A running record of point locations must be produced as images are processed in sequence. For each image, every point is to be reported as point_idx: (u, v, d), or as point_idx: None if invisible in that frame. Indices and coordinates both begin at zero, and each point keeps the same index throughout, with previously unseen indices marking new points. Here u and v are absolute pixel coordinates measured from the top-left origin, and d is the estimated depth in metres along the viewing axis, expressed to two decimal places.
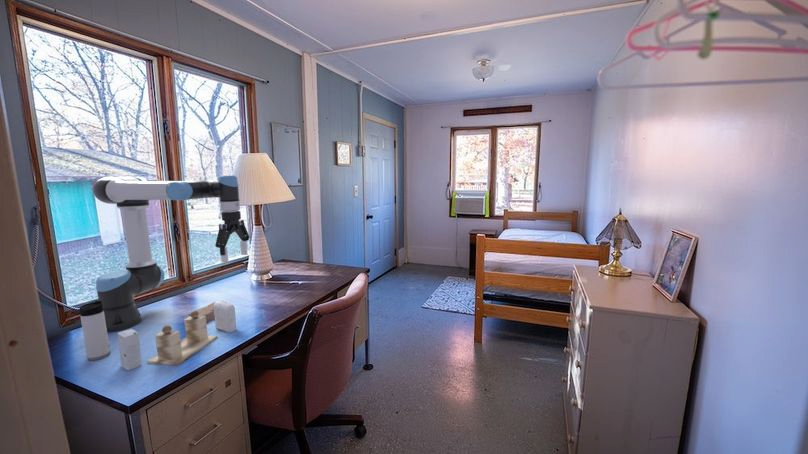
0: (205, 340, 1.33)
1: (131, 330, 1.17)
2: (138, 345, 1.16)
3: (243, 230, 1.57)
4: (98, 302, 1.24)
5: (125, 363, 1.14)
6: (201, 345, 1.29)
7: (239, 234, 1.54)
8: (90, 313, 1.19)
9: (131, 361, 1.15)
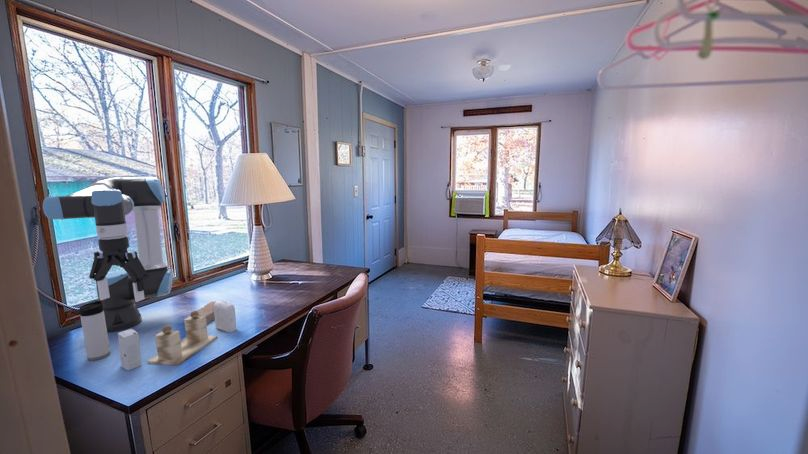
0: (205, 340, 1.33)
1: (131, 330, 1.17)
2: (138, 345, 1.16)
3: None
4: (98, 302, 1.24)
5: (125, 363, 1.14)
6: (201, 345, 1.29)
7: None
8: (90, 313, 1.19)
9: (131, 361, 1.15)
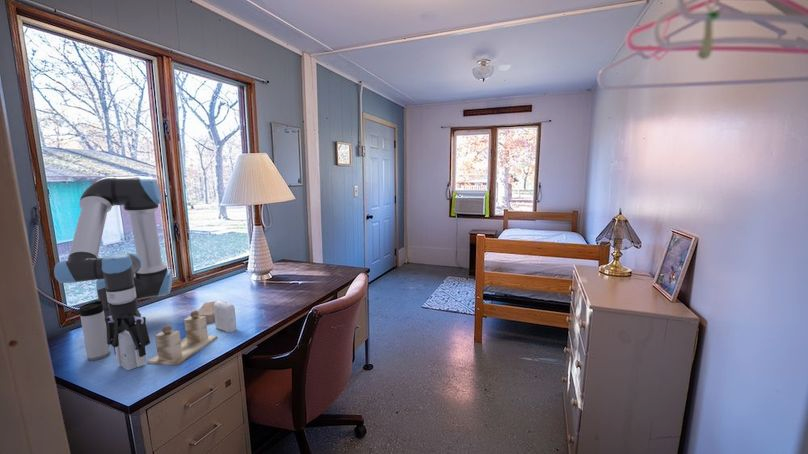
0: (205, 340, 1.33)
1: None
2: None
3: None
4: (98, 302, 1.24)
5: (125, 363, 1.14)
6: (201, 345, 1.29)
7: None
8: (90, 313, 1.19)
9: (131, 361, 1.15)
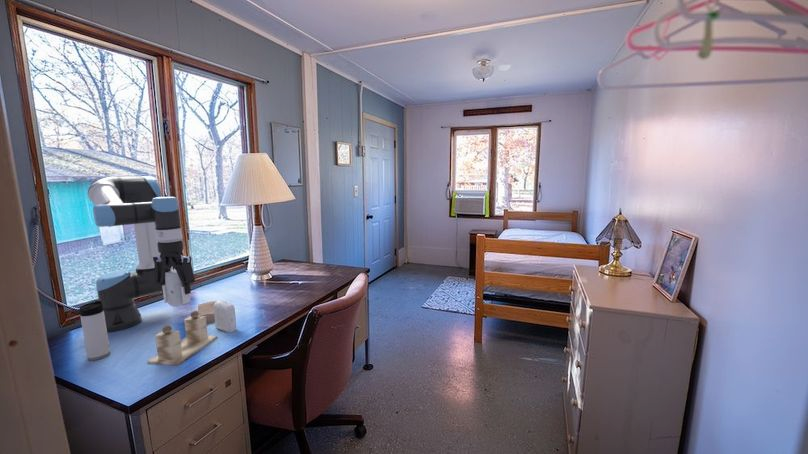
0: (205, 340, 1.33)
1: None
2: None
3: None
4: (98, 302, 1.24)
5: (172, 300, 1.21)
6: (201, 345, 1.29)
7: None
8: (90, 313, 1.19)
9: (178, 298, 1.22)
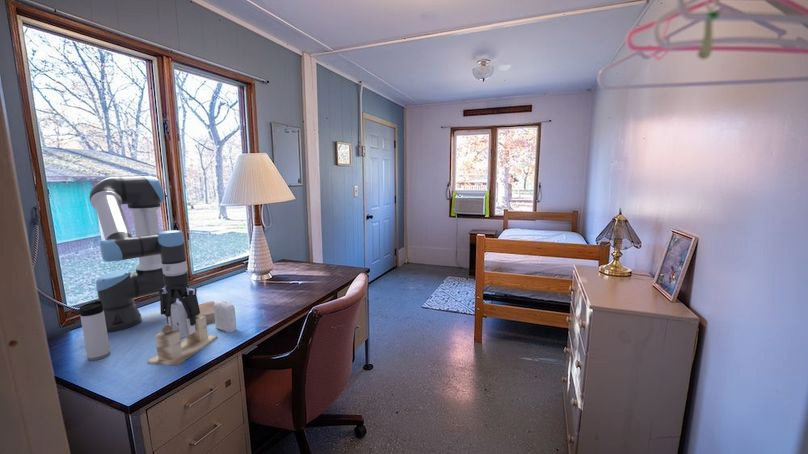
0: (205, 340, 1.33)
1: None
2: None
3: None
4: (98, 302, 1.24)
5: None
6: (201, 345, 1.29)
7: None
8: (90, 313, 1.19)
9: (183, 329, 1.24)
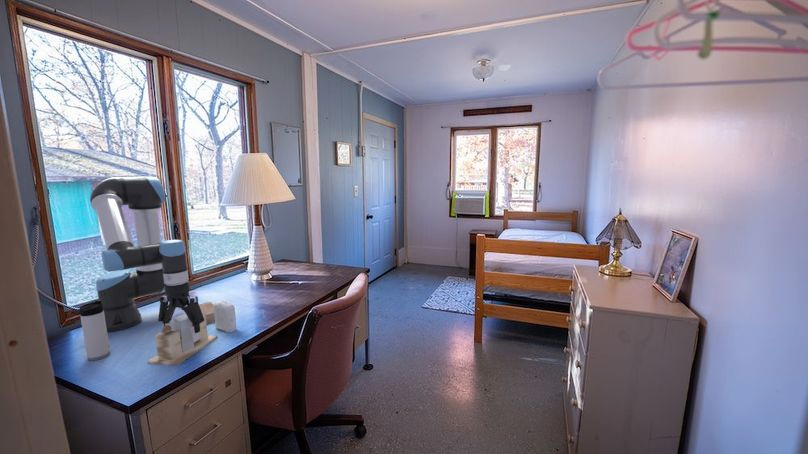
0: (205, 340, 1.33)
1: (184, 315, 1.28)
2: None
3: None
4: (98, 302, 1.24)
5: None
6: (201, 345, 1.29)
7: None
8: (90, 313, 1.19)
9: (186, 343, 1.25)
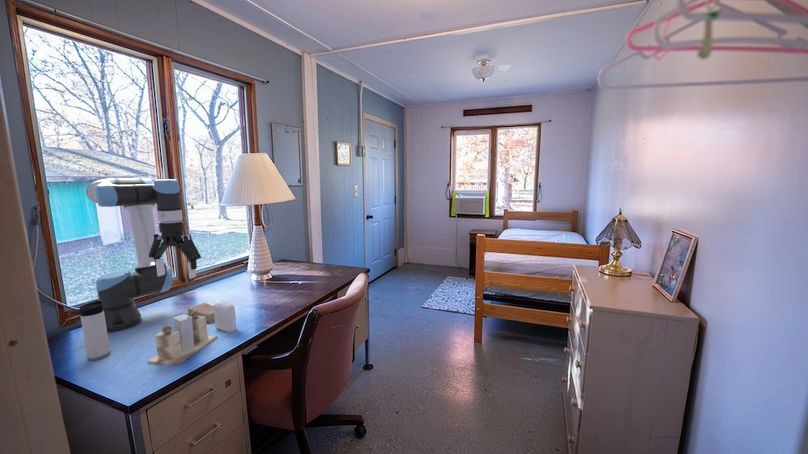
0: (205, 340, 1.33)
1: (184, 315, 1.28)
2: (191, 329, 1.26)
3: None
4: (98, 302, 1.24)
5: None
6: (201, 345, 1.29)
7: None
8: (90, 313, 1.19)
9: (186, 343, 1.25)
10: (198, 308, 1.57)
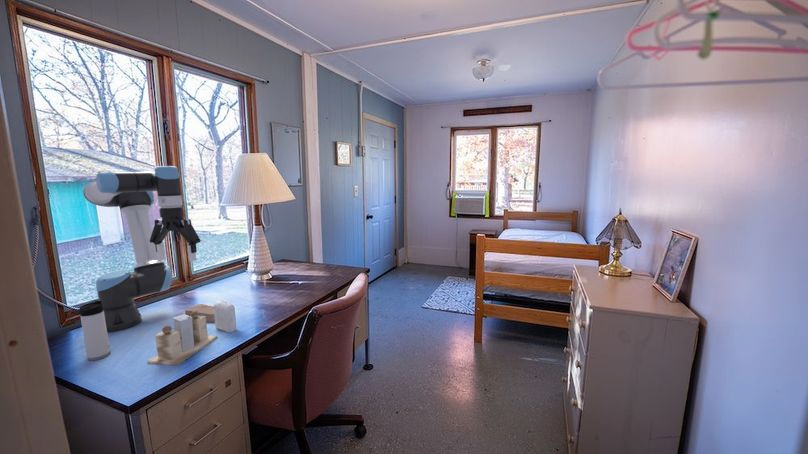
0: (205, 340, 1.33)
1: (184, 315, 1.28)
2: (191, 329, 1.26)
3: None
4: (98, 302, 1.24)
5: None
6: (201, 345, 1.29)
7: None
8: (90, 313, 1.19)
9: (186, 343, 1.25)
10: (197, 309, 1.56)
